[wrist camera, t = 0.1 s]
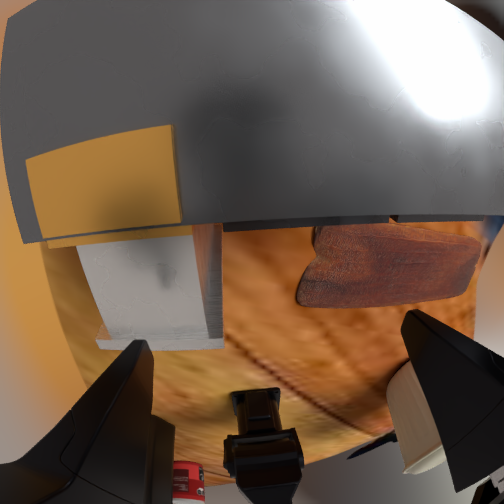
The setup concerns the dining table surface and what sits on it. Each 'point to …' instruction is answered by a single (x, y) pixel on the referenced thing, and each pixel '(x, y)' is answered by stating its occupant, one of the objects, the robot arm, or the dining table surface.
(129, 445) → the robot arm
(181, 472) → the canned food
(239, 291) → the dining table surface
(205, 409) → the dining table surface
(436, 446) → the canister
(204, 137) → the small drawer cabinet
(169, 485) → the wine bottle
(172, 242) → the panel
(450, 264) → the wooden tablet
